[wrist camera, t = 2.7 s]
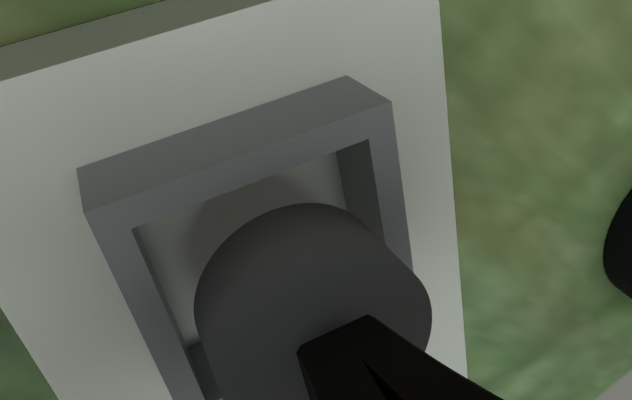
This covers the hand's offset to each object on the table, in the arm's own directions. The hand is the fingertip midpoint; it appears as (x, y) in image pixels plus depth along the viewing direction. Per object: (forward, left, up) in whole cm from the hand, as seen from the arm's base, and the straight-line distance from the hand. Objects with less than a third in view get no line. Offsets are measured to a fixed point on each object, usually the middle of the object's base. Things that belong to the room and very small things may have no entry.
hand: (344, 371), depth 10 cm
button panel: (0, -5, -8) cm, 9 cm away
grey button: (0, 0, -2) cm, 2 cm away
